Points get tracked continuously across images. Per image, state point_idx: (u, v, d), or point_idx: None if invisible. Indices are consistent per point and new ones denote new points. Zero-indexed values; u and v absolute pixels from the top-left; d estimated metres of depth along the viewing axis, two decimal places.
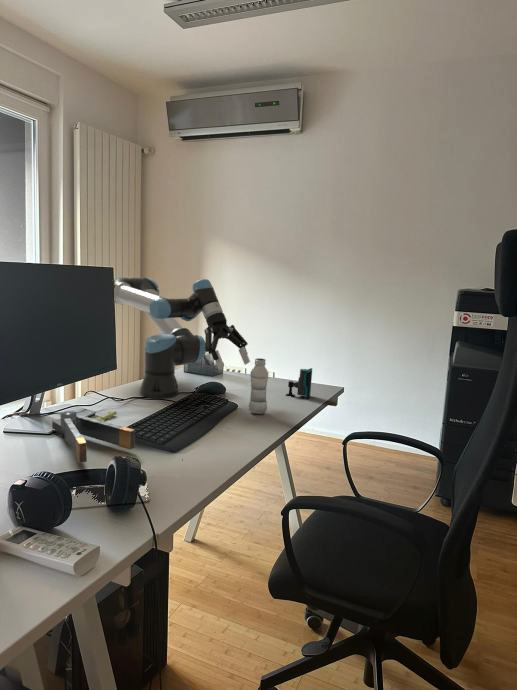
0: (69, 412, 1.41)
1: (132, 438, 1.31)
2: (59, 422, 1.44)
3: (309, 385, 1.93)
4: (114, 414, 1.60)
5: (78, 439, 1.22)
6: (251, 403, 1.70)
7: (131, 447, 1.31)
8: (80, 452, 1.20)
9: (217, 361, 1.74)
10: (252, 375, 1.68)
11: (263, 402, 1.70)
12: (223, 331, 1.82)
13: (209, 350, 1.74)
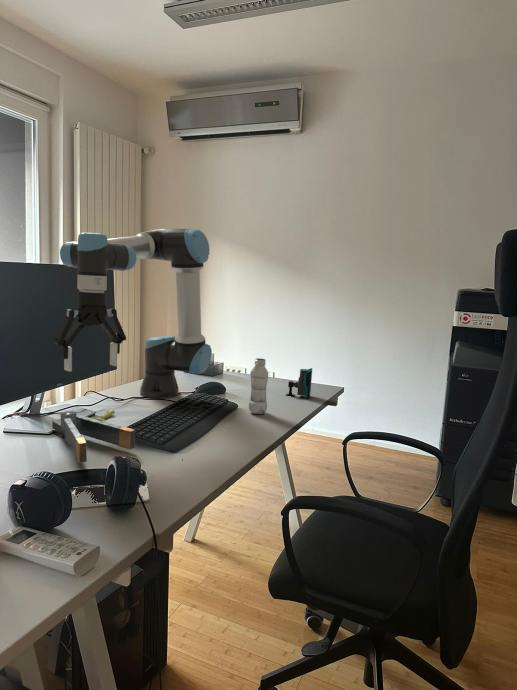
0: (69, 412, 1.41)
1: (132, 438, 1.31)
2: (59, 422, 1.44)
3: (309, 385, 1.93)
4: (112, 413, 1.61)
5: (78, 439, 1.22)
6: (251, 403, 1.70)
7: (131, 447, 1.31)
8: (80, 452, 1.20)
9: (65, 360, 1.27)
10: (252, 375, 1.68)
11: (263, 402, 1.70)
12: (94, 318, 1.29)
13: (58, 344, 1.24)
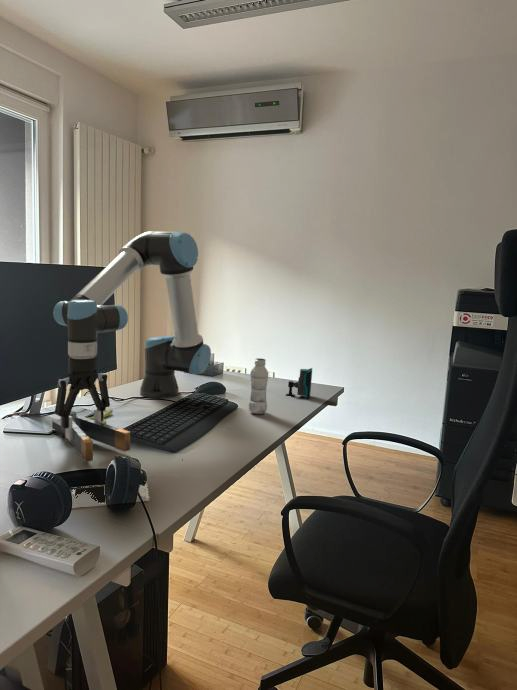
0: None
1: (127, 440, 1.29)
2: (59, 422, 1.44)
3: (309, 385, 1.93)
4: (111, 412, 1.62)
5: (84, 438, 1.23)
6: (251, 403, 1.70)
7: (126, 449, 1.29)
8: (87, 451, 1.21)
9: (66, 429, 1.31)
10: (252, 375, 1.68)
11: (263, 402, 1.70)
12: (85, 382, 1.32)
13: (59, 415, 1.28)
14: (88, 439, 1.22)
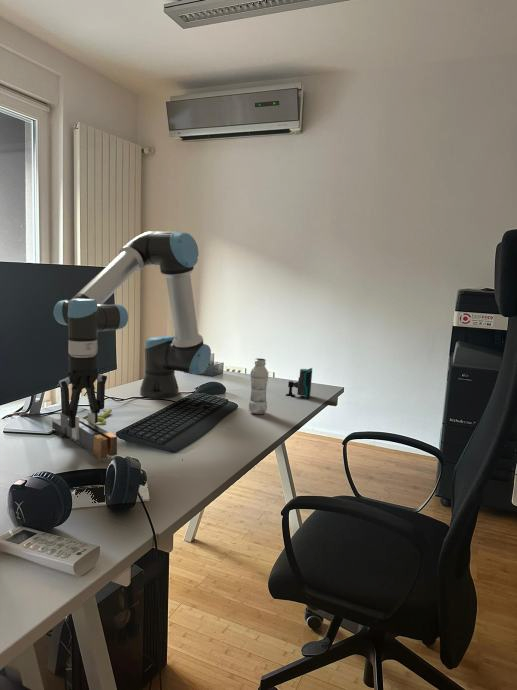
0: None
1: (114, 445, 1.25)
2: (59, 422, 1.44)
3: (309, 385, 1.93)
4: (110, 412, 1.62)
5: (97, 436, 1.25)
6: (251, 403, 1.70)
7: (112, 454, 1.26)
8: (101, 448, 1.23)
9: (73, 428, 1.32)
10: (252, 375, 1.68)
11: (263, 402, 1.70)
12: (85, 381, 1.31)
13: None
14: (101, 437, 1.24)
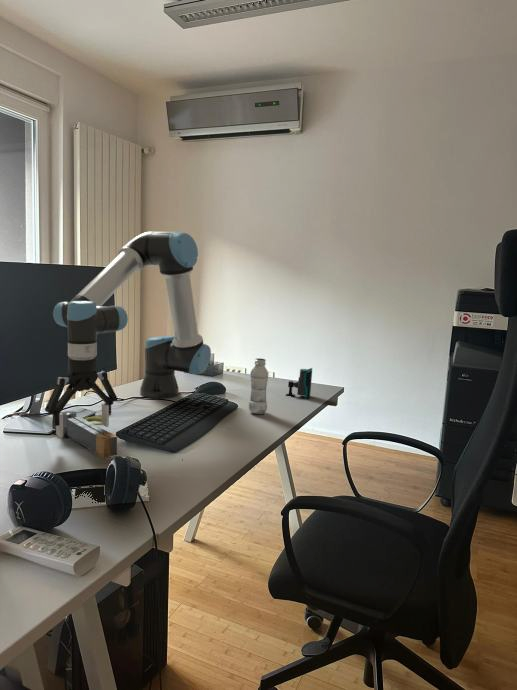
0: (69, 412, 1.41)
1: (114, 445, 1.25)
2: None
3: (309, 385, 1.93)
4: None
5: (99, 435, 1.25)
6: (251, 403, 1.70)
7: (112, 454, 1.26)
8: (104, 448, 1.24)
9: (57, 426, 1.29)
10: (252, 375, 1.68)
11: (263, 402, 1.70)
12: (85, 383, 1.32)
13: (49, 412, 1.26)
14: (104, 436, 1.25)
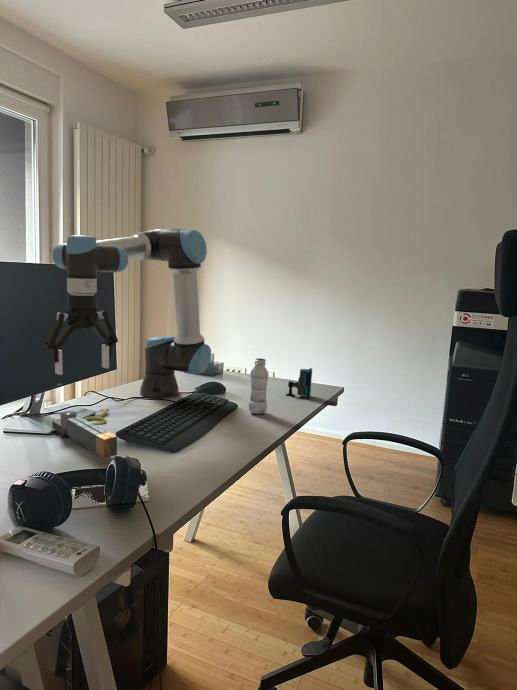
0: (69, 412, 1.41)
1: (114, 445, 1.25)
2: (59, 422, 1.44)
3: (309, 385, 1.93)
4: (107, 411, 1.63)
5: (99, 435, 1.25)
6: (251, 403, 1.70)
7: (112, 454, 1.26)
8: (104, 448, 1.24)
9: (56, 363, 1.26)
10: (252, 375, 1.68)
11: (263, 402, 1.70)
12: (85, 321, 1.29)
13: (48, 348, 1.24)
14: (104, 436, 1.25)
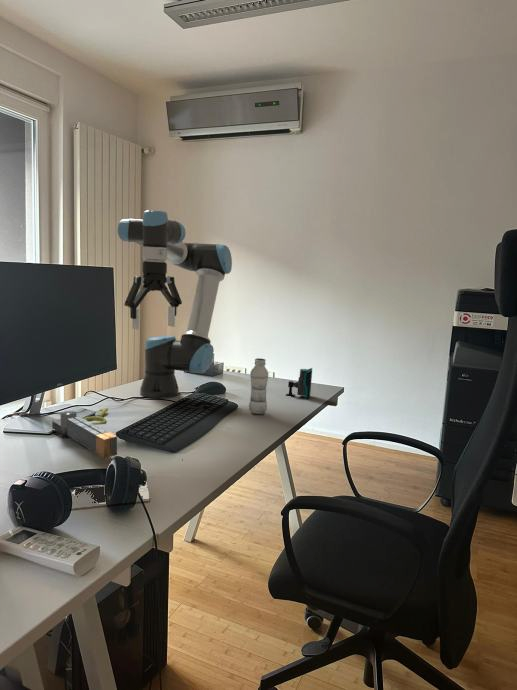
0: (69, 412, 1.41)
1: (114, 445, 1.25)
2: (59, 422, 1.44)
3: (309, 385, 1.93)
4: (106, 411, 1.63)
5: (99, 435, 1.25)
6: (251, 403, 1.70)
7: (112, 454, 1.26)
8: (104, 448, 1.24)
9: (134, 320, 1.49)
10: (252, 375, 1.68)
11: (263, 402, 1.70)
12: (157, 284, 1.51)
13: (128, 306, 1.46)
14: (104, 436, 1.25)
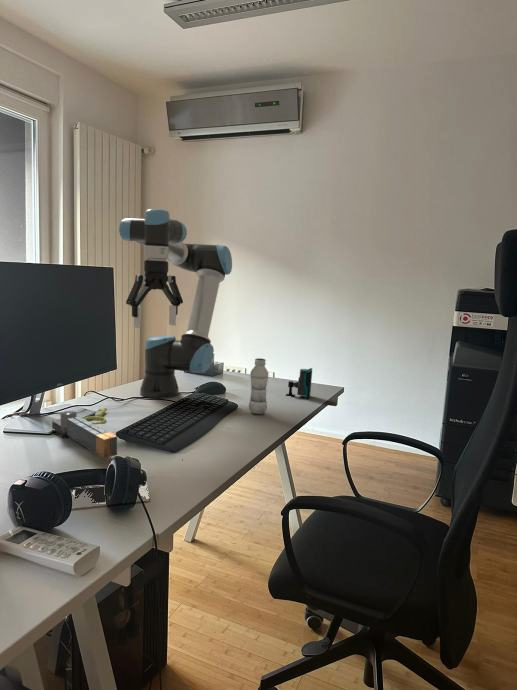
0: (69, 412, 1.41)
1: (114, 445, 1.25)
2: (59, 422, 1.44)
3: (309, 385, 1.93)
4: (105, 411, 1.63)
5: (99, 435, 1.25)
6: (251, 403, 1.70)
7: (112, 454, 1.26)
8: (104, 448, 1.24)
9: (135, 318, 1.49)
10: (252, 375, 1.68)
11: (263, 402, 1.70)
12: (158, 283, 1.51)
13: (130, 304, 1.46)
14: (104, 436, 1.25)
